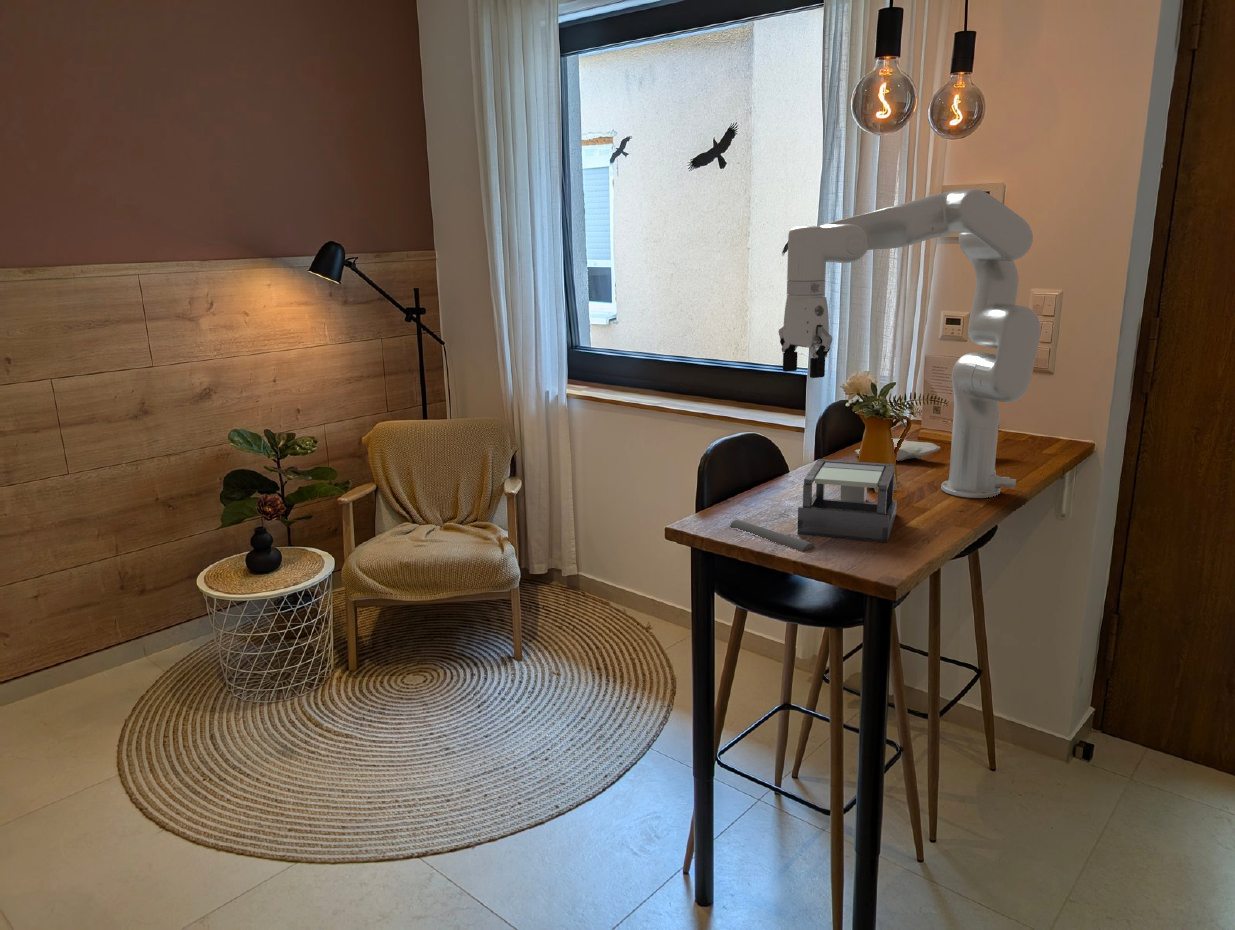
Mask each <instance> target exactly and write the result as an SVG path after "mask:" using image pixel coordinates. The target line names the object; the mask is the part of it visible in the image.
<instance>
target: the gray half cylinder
mask: <svg viewBox="0 0 1235 930" xmlns="http://www.w3.org/2000/svg"><path fill="white" fill-rule="evenodd" d="M730 527H731V528H738V529H740V530H743V531H746V532H750V533H753V534H755V535H758V536H760V537H762V538H766V539H768V540H770V541H772V542H771V543H773V542H776V543H779V544H781V545H780V546H782V545H785V546H788V547H790V548H789V549H791V548H792V549H793V550H794V549H796V550H795V551H797V550H798V552H804V551H808V550H811V549H813V548H815V546H816V545H815V544H814V543H812V542H809V541H806V540H804V539H799V538H797V537H793V536H790V535H787V534H784V533H780V532H778V531H775V530H771V529H769V528H765V527H762V526H759V525H755V524H752V523H749V522H746V521H742V520H740V519H734V520H733V521H732V522H731V523H730V525H729V528H730ZM731 528H730V529H731ZM770 541H769V542H770ZM776 543H775V544H776ZM779 544H778V545H779ZM785 546H784V547H785ZM788 547H787V548H788Z"/></svg>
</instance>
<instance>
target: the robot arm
mask: <svg viewBox="0 0 1235 930" xmlns="http://www.w3.org/2000/svg"><path fill="white" fill-rule="evenodd" d="M951 234H959V235H958V245H959V248H960V250H961V252H962V253H963V254H964V255H965V256H966V258H967V259H968V260H969V262H970V264H971V265H972V267H973V269H974V273H975V289H974V293H973V300H972V305H971V310H970V315H969V321H968V326H967V333H968V334H967V335H968V338H969V339H970V341H971V342H973V343H974V344H975V345H978V346H982V347H986V348H991V349H996V354H994V353H988V352H980V351H978V352H977V351H974V352H969V353H966V354H963V355H962V356H961V357H959V358H958V359H957V360H956V362H955V363H954V365H953V367H952V371H951V384H952V392H953V422H952V431H951V432H952V433H951V446H950V459H949V471H948V472H949V473H948V474H949V475H948V480H945V481H942V483H941V484H940V486H941V487H940V489H941V490H942V491H943V492H944V493H946V494H948V495H952V496H956V497H961V498H969V499H985V498H986V499H987V498H988V497H989V498H993V496H994V497H997V496H998V494H999V495H1000V493H1001V487H1006V488H1016V486H1017V479H1016V478H1011V477H1009V476H1000V475H997V471H996V460H997V459H996V458H997V448H998V447H997V445H998V437H999V436H998V435H999V430H998V426H999V427H1000V409H999V405H998V402H1001V403H1013V402H1015V401H1019V400H1020V399H1021V398H1022V397H1023V396H1024V395H1025V394H1026V392H1027V391H1028V388H1029V386H1030V384H1031V379H1032V376H1033V372H1034V368H1035V363H1036V359H1037V358H1036V357H1037V353H1038V349H1039V346H1040V339H1041V334H1042V333H1041V332H1042V331H1041V328H1042V327H1041V323H1040V319H1039V317H1038V315H1037V314H1036V312H1035V311H1034V310H1033V309H1031V308H1029V307H1027V306H1025V305H1017V302H1016V301H1017V295H1018V290H1019V273H1018V272H1019V271H1018V268H1017V266H1016V263H1015V260H1016V261H1017V260H1019V259H1021V258H1023V257H1024V256H1026V254H1027V253H1028V252H1029V251H1030V250H1031V248H1032V245H1033V241H1034V238H1033V237H1034V236H1033V231H1032V227H1031V226H1030V224H1029V223H1028V222H1027V221H1026V219H1024V218H1023V217H1021V215H1019V214H1018V213H1016V212H1015V211H1013V210H1012V209H1011V208H1009V207H1008V206H1007V205H1005V204H1004V203H1003V202H1001V201H1000V200H998V199H997V197H994V196H993V195H991V194H990V193H988V192H985V191H983V190H980V189H975V188H974V189H960V190H948V191H944V192H940V193H935V194H932V195H929V196H925V197H923V198H919V199H914V200H911V201H908V202H905V203H900V204H897V205H894V206H888V207H884V208H881V209H877V210H874V211H871V212H867V213H863V214H858V215H854V216H849V217H846V218H845V217H844V218H842V219H839V220H834V221H831V222H828V223H824V224H821V225H804V226H803V225H802V226H794V227H792V228H791V229H790V230H789V231H788V236H787V238H788V239H787V267H786V269H787V272H786V276H787V278H786V301H785V307H784V315H783V326H782V327H781V328H779V329H778V335H779V343H780V345H781V352H782V371H783V372H785V373H787V372H796V371H798V351H796V350H797V348H798V347H799V348H801V347H802V348H808V349H809V351H810V354H811V356H812V357H810V360H809V377H810V379H817V378H818V379H819V378H824V377H825V376H826V374H825V373H826V358H828V353H829V351H830V349H831V345H832V342H833V336H832V335H831V334H830V327H829V325H830V320H829V319H830V318H829V307H828V306H829V305H828V300H827V299H828V298H827V297H826V296H825V294H826V274H827V273H826V271H827V263H838V264H849V263H854V262H857V261H858V260H860V259H862V258H864V256H865V255H866V253H867V252H868V251H872V250H873V251H874V250H890V249H897V248H898V249H899V248H904V247H908V246H909V247H910V246H912V245H916V244H918V243H922V242H925V241H928V240H931V239H936V238H940V237H942V236H946V235H951ZM996 495H997V496H996Z"/></svg>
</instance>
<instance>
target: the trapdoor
mask: <svg viewBox="0 0 1235 930" xmlns="http://www.w3.org/2000/svg"><path fill="white" fill-rule="evenodd" d="M884 471H885V470H884V467H883V466H869V465H855V464H841V463H827V462H826V463H825V464H824V465H823V467H822V468H821V470H820V471H819V473H818V474H817V476H816V477H815V480H814V484H816V483H817V484H825V485H829V486H830V485H832V486H841V485H843V486H855V487H867V489H868V488H870V489H872V488H873V489H878V488H879V483H880V481H881V478H882V476H883V474H884Z"/></svg>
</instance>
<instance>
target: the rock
mask: <svg viewBox="0 0 1235 930" xmlns="http://www.w3.org/2000/svg"><path fill="white" fill-rule="evenodd" d="M892 439H893V442H894V447H897V443H898V441H899V440H900V439H901V438H892ZM860 449H861V448H859V449H855V450H854V453H855V454H857V455H858V454H859V451H860ZM939 450H941V446H939V445H936V444H935V443H933V442H927V441H926V442H925V441H924V442H923V441H922V442H921V441H913V440H911V441H908V440H906V439H904V441H903V442H902V444H901V447H900V448H899V451H898V452H897V461H896V462H901V461H905V460H908V459H909V460H910V459H916V458H917V459H919V458H922V457H924V456H927V455H930V454H932V453H935V452H937V451H939Z"/></svg>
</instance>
